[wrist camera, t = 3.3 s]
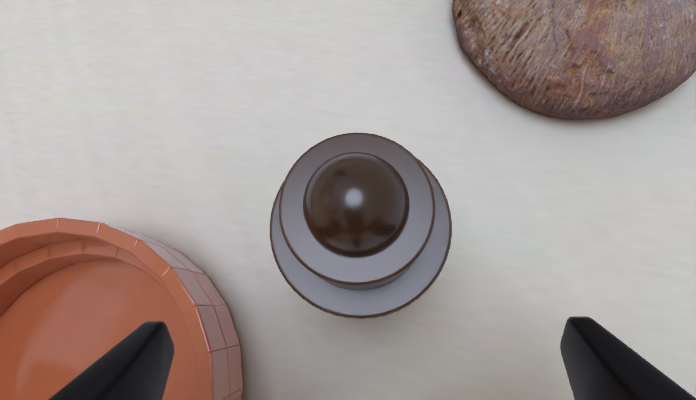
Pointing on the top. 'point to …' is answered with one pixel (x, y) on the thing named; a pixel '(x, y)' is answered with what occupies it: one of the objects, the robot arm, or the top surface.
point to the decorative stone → (580, 51)
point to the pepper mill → (360, 226)
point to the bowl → (106, 309)
